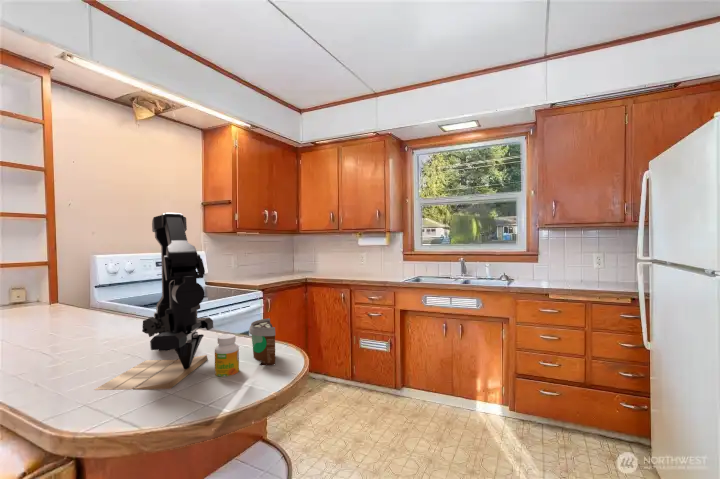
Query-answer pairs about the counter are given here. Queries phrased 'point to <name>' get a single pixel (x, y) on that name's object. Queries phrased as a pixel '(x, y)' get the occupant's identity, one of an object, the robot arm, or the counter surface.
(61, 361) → the counter surface
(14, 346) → the counter surface
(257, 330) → the food container
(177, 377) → the plank
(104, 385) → the floor board
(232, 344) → the supplement bottle
